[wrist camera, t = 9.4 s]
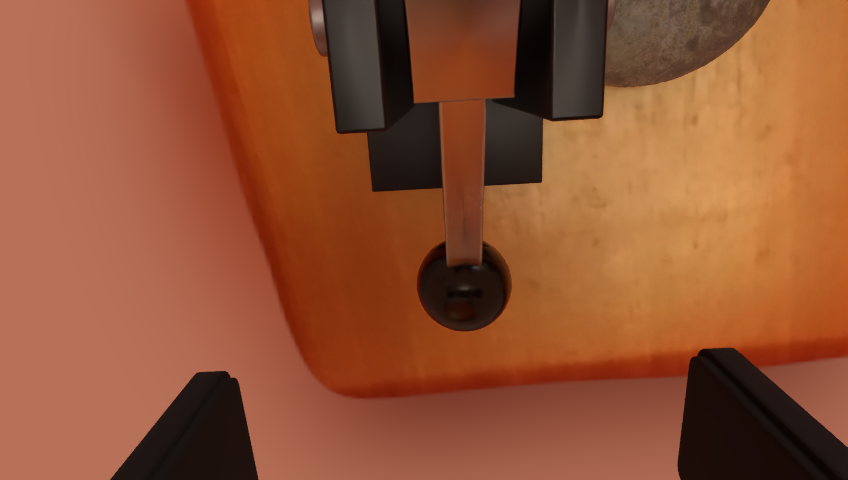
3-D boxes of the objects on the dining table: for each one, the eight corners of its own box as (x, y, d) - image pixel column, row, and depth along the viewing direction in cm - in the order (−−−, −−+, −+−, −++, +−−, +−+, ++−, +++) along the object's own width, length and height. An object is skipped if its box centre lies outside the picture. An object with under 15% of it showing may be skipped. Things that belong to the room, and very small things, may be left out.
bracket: (536, 177, 21) (646, 282, 10) (375, 186, 22) (306, 297, 10) (539, -121, 18) (706, -466, 7) (349, -106, 18) (205, -409, 7)
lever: (503, 275, 19) (514, 348, 17) (420, 279, 19) (420, 351, 17) (531, -94, 10) (561, -45, 8) (379, -81, 10) (367, -30, 8)
